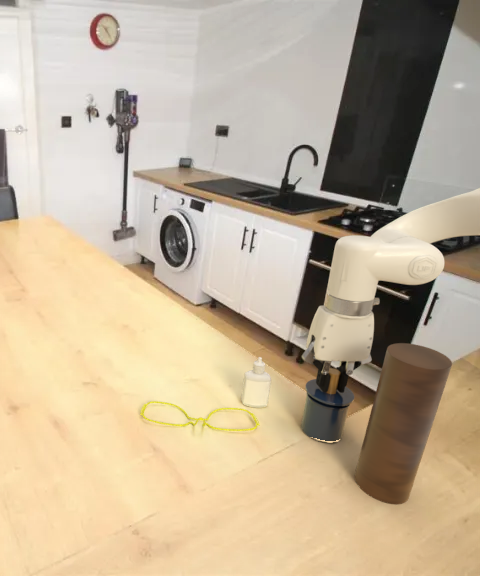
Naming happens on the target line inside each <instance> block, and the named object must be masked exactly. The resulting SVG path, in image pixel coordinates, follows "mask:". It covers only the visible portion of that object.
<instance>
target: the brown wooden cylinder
mask: <svg viewBox="0 0 480 576" xmlns="http://www.w3.org/2000/svg"><path fill="white" fill-rule="evenodd" d="M452 366H453V361H452V360H451V359H450V358H449V356H447V355H446V354H444V353H443V352H440V351H438V350H436V349H433V348H431V347H427V346H424V345H419V344H414V343H408V342H407V343H405V342H399V343H397V342H396V343H393V344H392V343H391V344H390V345H388V346H387V347H386V352H385V355H384V360H383V363H382V367H381V371H380V375H379V378H378V383H377V385H376V386H377V387H376V390H375V394H374V398H373V402H372V405H371V410H370V414H369V417H368V422H367V425H366V429H365V434H364V436H363V441H362V445H361V449H360V453H359V457H358V461H357V464H356V469H355V472H354V481H355V480H356V481H355V482H357V483H356V485H357V486H358V485H359V486H360V487H359V486H358V487H359V488H360V490H362V491H363V492H364V493H365V492H366V493H365V494H367V495H368V494H369V495H368V496H369V497H371V496H372V497H371V498H373V499H375V500H377V501H380V502H382V503H386V504H390V505H402V504H404V503H406V502H407V501H408V500H409V499H410V495H411V492H412V489H413V486H414V483H415V480H416V477H417V473H418V470H419V468H420V465H421V462H422V458H423V455H424V452H425V449H426V447H427V444H428V441H429V440H428V439H429V437H430V433H431V430H432V428H433V424H434V421H435V419H436V415H437V412H438V409H439V406H440V403H441V400H442V397H443V394H444V391H445V388H446V385H447V382H448V377H449V375H450V372H451V369H452Z"/></svg>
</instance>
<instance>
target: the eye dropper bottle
mask: <svg viewBox="0 0 480 576" xmlns="http://www.w3.org/2000/svg"><path fill="white" fill-rule="evenodd" d="M265 370H266V363H265V362H264V361H263V358H262V356H258V358H257V360H254V361H253V364H252V369H251V370H248V371H245V372H244V374H243V381H242V388H241V389H242V390H241V396H240V397H241V399H240V400H241V403H242V405H244V406H247V407H250V408H255V409H256V408H257V409H261V408H267V407H268V404H269V399H270V392H271V385H272V377H271V375H270V374H269V372H267V371H265Z"/></svg>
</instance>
